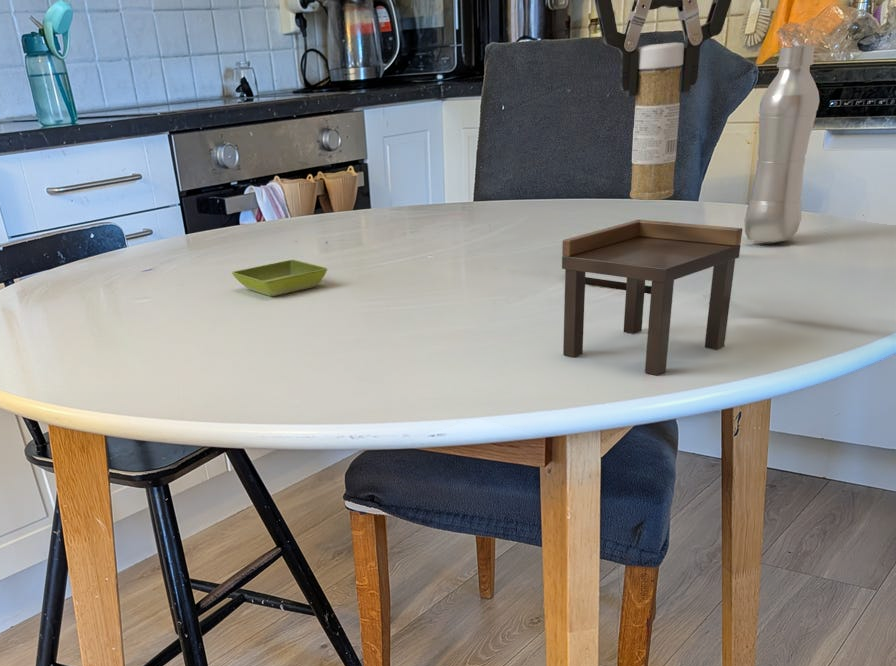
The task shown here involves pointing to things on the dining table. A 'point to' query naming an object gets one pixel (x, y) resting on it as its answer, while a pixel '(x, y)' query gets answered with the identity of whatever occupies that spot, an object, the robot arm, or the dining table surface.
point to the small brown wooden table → (650, 277)
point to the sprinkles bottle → (656, 120)
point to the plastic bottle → (783, 148)
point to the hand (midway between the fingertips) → (657, 93)
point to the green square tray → (281, 277)
